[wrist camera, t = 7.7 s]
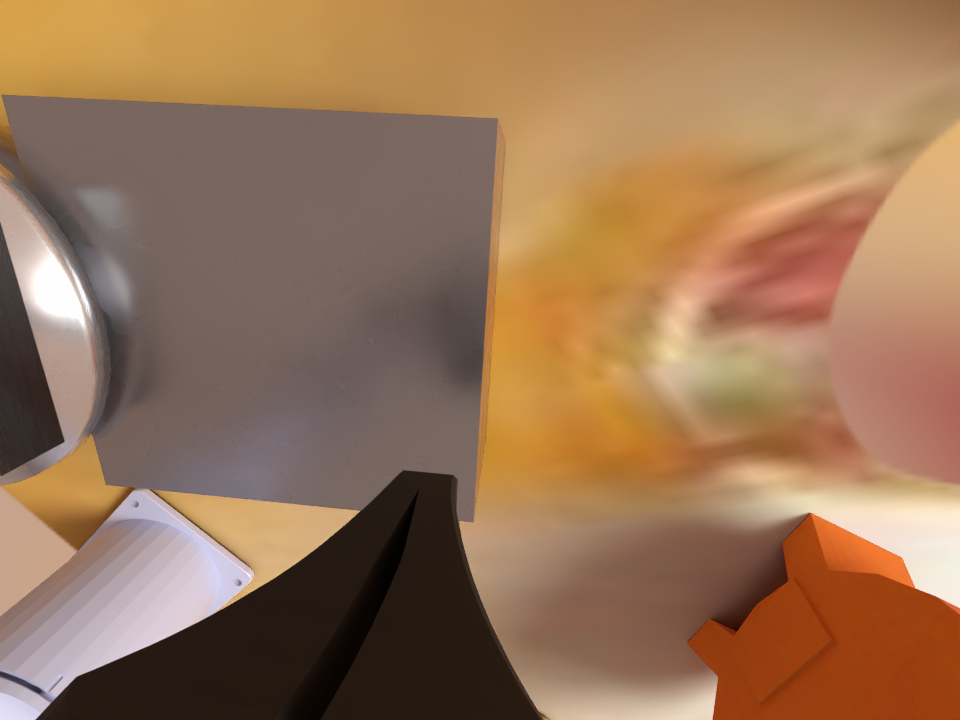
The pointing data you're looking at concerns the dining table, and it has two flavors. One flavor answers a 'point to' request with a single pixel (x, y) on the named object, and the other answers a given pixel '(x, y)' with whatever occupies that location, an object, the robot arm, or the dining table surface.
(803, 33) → the dining table surface
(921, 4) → the dining table surface
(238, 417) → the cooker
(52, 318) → the lid
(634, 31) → the dining table surface
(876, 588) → the orange lumpy piece
